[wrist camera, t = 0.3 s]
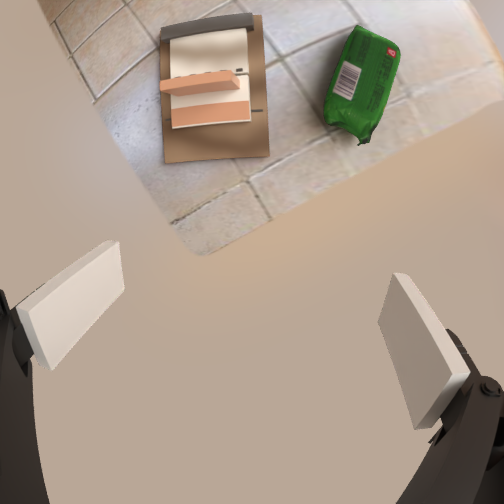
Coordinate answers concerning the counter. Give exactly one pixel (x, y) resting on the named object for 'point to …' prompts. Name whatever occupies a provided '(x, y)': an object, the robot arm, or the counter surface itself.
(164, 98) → the wooden base board
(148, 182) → the counter surface
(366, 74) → the snack package
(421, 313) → the robot arm
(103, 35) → the counter surface
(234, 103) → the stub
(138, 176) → the counter surface
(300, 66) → the counter surface
